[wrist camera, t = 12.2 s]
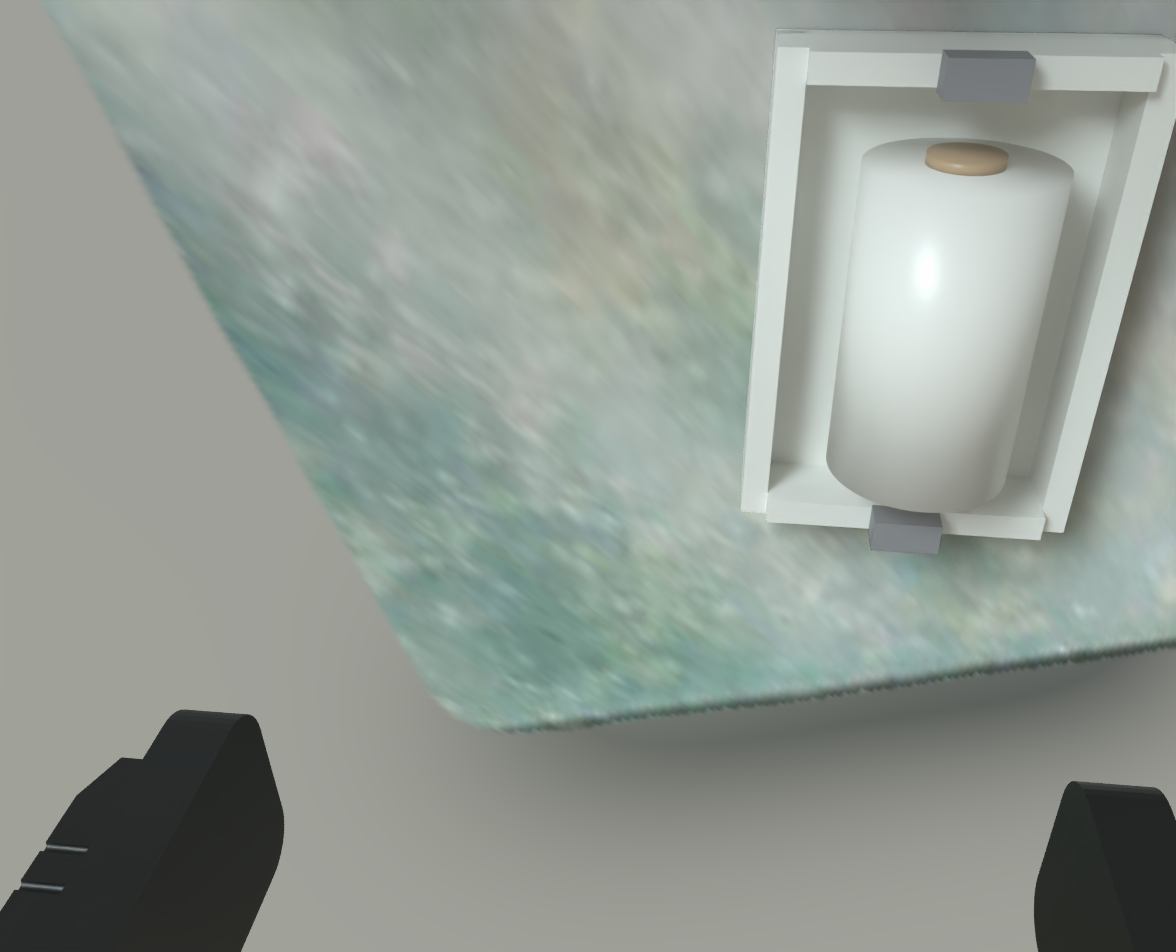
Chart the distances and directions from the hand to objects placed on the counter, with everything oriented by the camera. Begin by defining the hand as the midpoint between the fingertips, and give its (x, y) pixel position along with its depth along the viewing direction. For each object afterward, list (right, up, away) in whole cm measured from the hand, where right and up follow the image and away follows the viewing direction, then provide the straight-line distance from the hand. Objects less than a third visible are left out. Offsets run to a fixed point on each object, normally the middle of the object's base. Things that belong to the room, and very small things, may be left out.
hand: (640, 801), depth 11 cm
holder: (+10, +9, +22) cm, 26 cm away
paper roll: (+10, +9, +22) cm, 25 cm away
